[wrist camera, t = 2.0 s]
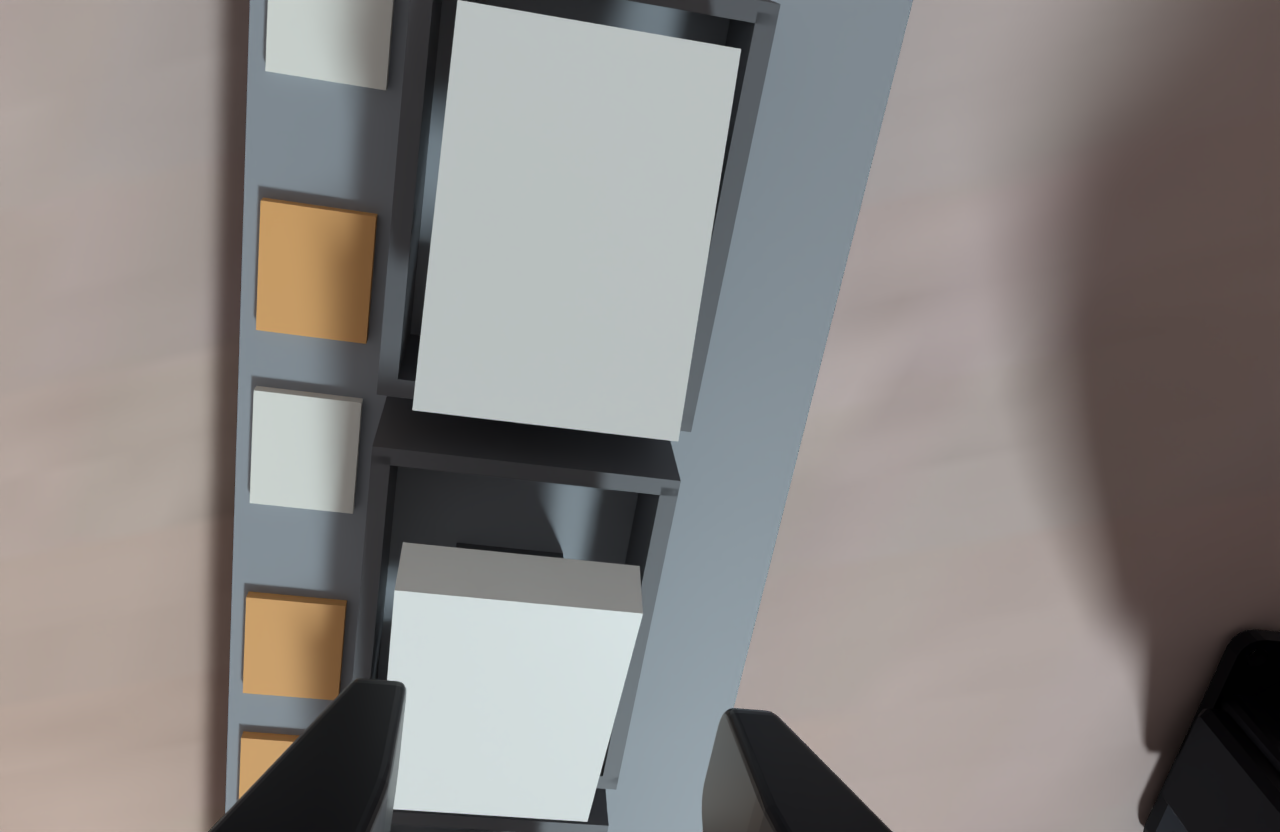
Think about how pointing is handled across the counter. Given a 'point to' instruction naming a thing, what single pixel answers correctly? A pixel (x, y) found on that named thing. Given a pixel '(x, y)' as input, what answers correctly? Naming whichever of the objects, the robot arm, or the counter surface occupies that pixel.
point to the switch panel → (508, 451)
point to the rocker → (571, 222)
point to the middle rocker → (508, 678)
